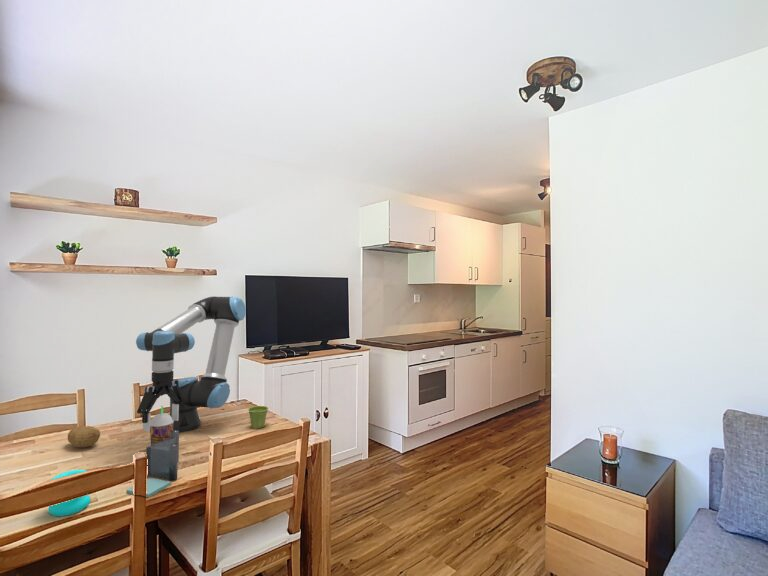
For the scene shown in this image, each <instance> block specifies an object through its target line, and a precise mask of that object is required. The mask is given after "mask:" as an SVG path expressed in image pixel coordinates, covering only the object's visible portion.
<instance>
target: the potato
mask: <svg viewBox="0 0 768 576" xmlns="http://www.w3.org/2000/svg"><path fill="white" fill-rule="evenodd" d="M100 437H101V431H100V429H98V428H96V427H94V426H89V425H86V426H85V425H84V426H83V425H79V426H76V427H73V428H71V429H70V430H69V431H68V434H67V441H68V442H69V443H70V444H71V446H73V447H75V448H76V447H77V448H89V447H91V446H93V445H94V444H95V443H97V442H98V441H99V438H100Z"/></svg>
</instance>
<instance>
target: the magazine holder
mask: <svg viewBox="0 0 768 576" xmlns="http://www.w3.org/2000/svg"><path fill="white" fill-rule="evenodd" d="M145 449H146V450H145V452H146V454H147V459H148V465H147V466H148V476H147V477H150V478H155V479H160V480H165V481H169V482H173V481H176V480H178V466H179V465H178V463H179V457H180V456H179V455H180V433H179V430H172V431H171V437H169V438H167V439H164V440H162V441H160V442H157V443H155V444H153V445H151V444H150V445H148V446H146V448H145ZM146 454H145V455H146Z"/></svg>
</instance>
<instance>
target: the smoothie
mask: <svg viewBox="0 0 768 576" xmlns="http://www.w3.org/2000/svg"><path fill="white" fill-rule="evenodd" d="M169 414H170V413H167V412H164V405H161V406H160V413H158V414H156V415H154V416H153V417H152V418H151V424H150V431H149V436H150V437H149V439H150V445H153V444H155V443H157V442H160V441H162V440H164V439H167V438H169V437H171V431H172V430H173V422H174V420H173V419H172V417H171V416H170V415H169Z"/></svg>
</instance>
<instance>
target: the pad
mask: <svg viewBox="0 0 768 576" xmlns="http://www.w3.org/2000/svg"><path fill="white" fill-rule="evenodd" d="M146 480H147V493H146V495H147V497H146V498H150V497H152V496H154V495H155V494H157V493H160V492H161V491H163V490H165V489H166V488H168V487H170V486H171V485H172V481H169V480H165V479H160V478H155V477H149V478H147V479H146ZM126 494H130V495H133V486H131V487H129V488H128V489H126Z"/></svg>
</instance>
